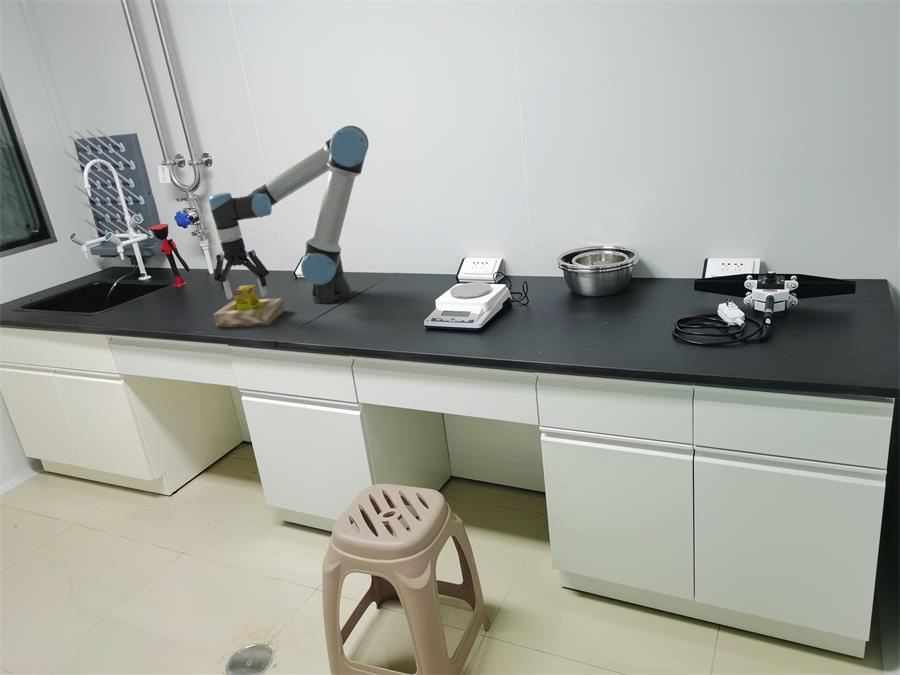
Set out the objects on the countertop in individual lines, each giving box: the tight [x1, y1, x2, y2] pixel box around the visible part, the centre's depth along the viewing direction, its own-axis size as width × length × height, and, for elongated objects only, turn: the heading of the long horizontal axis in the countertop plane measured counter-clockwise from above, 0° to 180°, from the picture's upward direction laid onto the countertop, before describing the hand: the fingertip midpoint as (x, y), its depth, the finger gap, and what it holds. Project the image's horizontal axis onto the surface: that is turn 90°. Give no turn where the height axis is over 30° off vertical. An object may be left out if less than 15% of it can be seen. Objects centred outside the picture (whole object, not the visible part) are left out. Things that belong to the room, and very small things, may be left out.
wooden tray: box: [213, 297, 286, 328], centre depth 232 cm, size 20×14×5 cm
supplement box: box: [232, 284, 261, 310], centre depth 231 cm, size 6×6×11 cm
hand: (247, 296), depth 230 cm, fingers open, 13 cm apart
